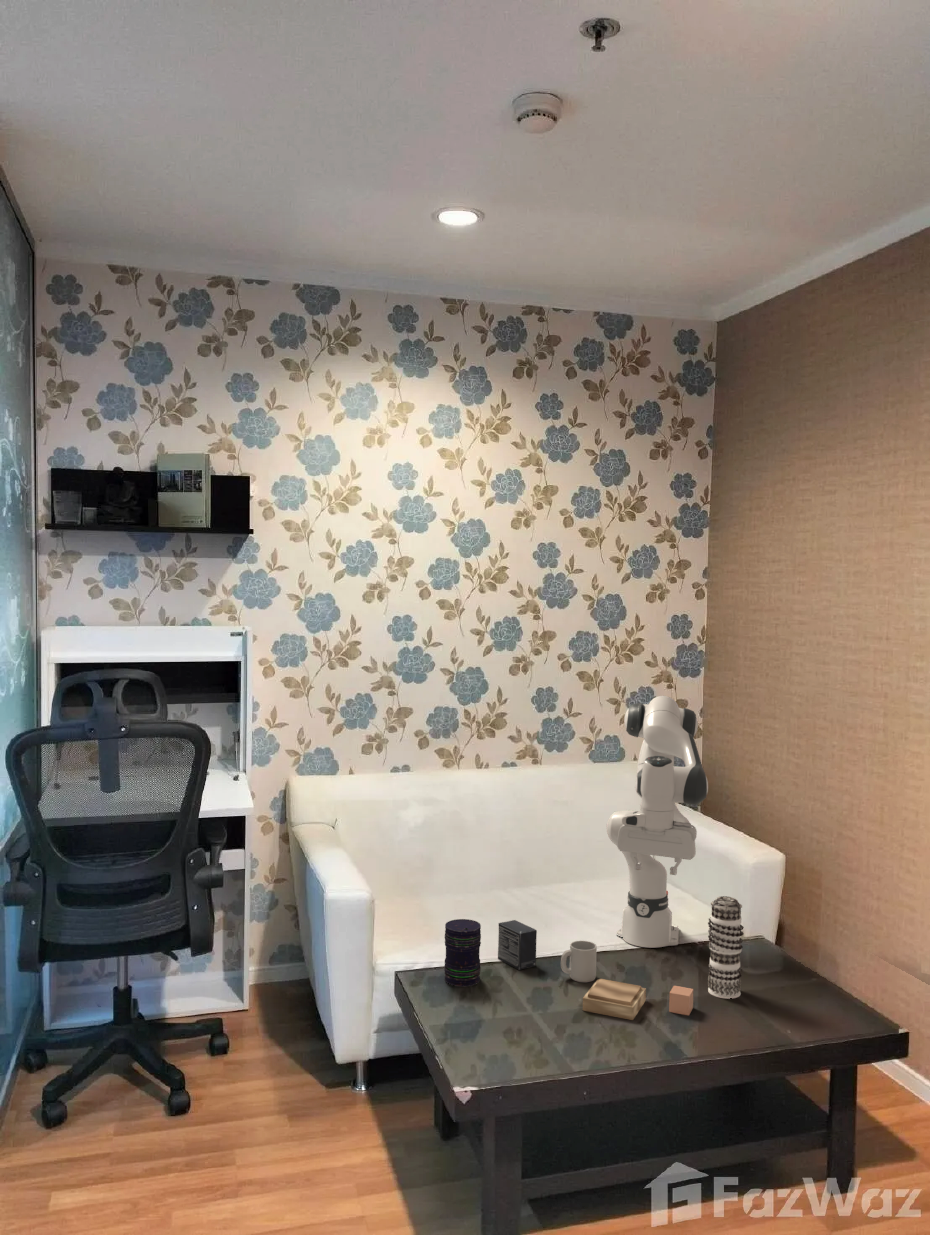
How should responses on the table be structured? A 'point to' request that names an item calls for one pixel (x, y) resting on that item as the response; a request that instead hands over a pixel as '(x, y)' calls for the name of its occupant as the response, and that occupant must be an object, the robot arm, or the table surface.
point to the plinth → (614, 999)
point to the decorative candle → (725, 948)
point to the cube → (681, 1000)
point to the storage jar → (462, 952)
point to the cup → (580, 961)
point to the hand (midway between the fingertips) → (655, 872)
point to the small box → (517, 944)
